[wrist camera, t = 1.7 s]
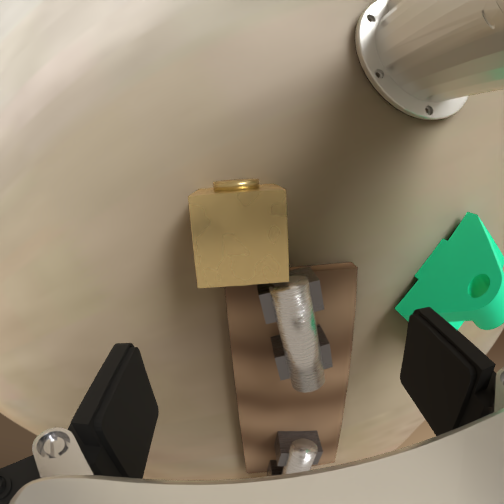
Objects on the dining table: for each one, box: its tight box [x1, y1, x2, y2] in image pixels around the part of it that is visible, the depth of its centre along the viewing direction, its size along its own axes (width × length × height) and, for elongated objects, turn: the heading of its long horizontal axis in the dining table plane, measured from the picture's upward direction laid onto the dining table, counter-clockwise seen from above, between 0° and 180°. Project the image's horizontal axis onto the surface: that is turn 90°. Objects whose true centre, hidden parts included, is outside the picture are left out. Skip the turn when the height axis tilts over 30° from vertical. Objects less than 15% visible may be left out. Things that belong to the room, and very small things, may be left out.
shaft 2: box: [267, 430, 323, 476], centre depth 29 cm, size 9×4×5 cm, turn 174°
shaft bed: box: [225, 262, 358, 473], centre depth 30 cm, size 26×11×2 cm, turn 4°
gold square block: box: [188, 179, 289, 288], centre depth 23 cm, size 7×6×6 cm
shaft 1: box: [257, 266, 333, 393], centre depth 24 cm, size 9×4×5 cm, turn 14°
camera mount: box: [395, 212, 504, 330], centre depth 24 cm, size 12×8×10 cm, turn 142°
